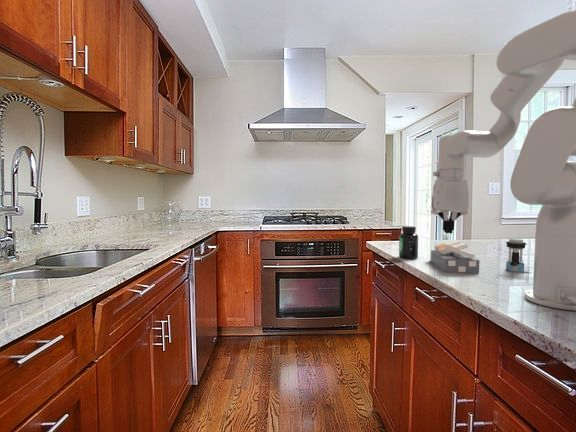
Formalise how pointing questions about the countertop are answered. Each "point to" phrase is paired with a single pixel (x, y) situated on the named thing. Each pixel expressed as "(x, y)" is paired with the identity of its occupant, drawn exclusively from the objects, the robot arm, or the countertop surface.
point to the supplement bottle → (408, 243)
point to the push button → (515, 255)
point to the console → (455, 262)
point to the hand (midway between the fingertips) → (448, 232)
